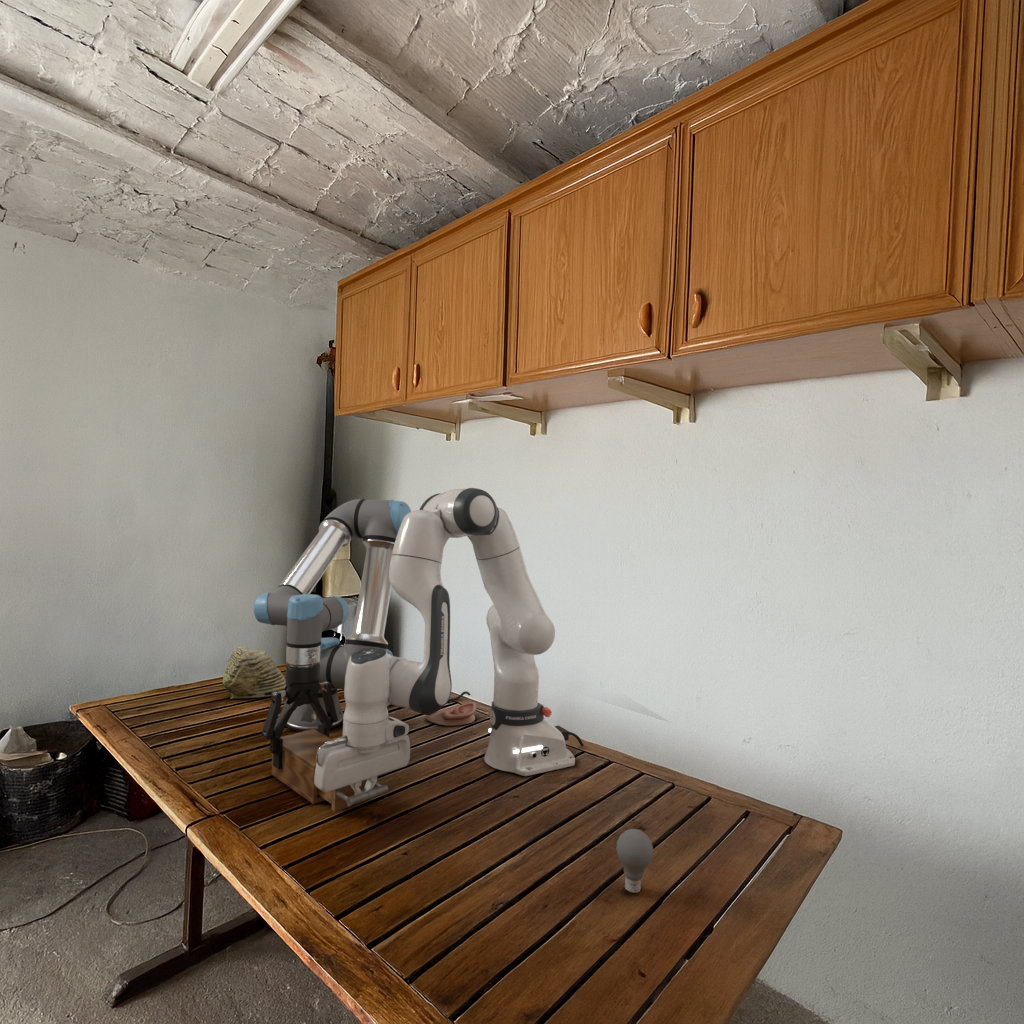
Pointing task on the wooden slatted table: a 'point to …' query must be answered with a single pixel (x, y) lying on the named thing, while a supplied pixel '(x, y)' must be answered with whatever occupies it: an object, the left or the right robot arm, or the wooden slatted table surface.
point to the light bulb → (634, 857)
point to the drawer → (351, 795)
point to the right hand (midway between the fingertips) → (362, 799)
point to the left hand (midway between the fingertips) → (299, 760)
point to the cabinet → (301, 763)
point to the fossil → (252, 674)
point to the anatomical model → (455, 715)
